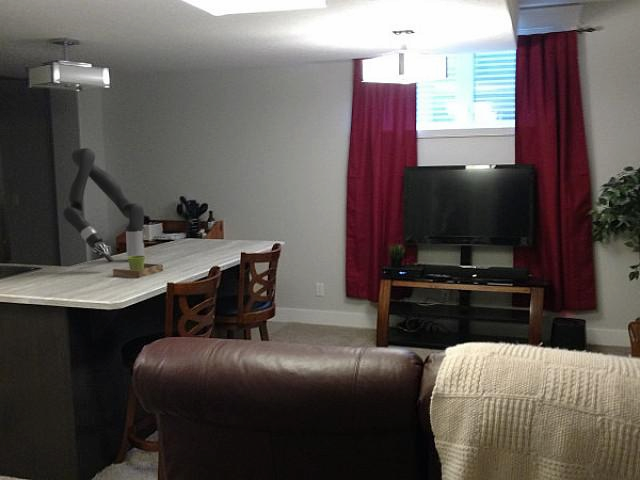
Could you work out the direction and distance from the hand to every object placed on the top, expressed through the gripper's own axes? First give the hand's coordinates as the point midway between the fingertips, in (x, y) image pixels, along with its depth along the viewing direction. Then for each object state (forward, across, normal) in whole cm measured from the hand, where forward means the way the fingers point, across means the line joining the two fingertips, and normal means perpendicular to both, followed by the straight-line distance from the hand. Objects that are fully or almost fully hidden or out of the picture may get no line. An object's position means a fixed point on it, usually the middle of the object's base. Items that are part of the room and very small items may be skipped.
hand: (111, 261), depth 319 cm
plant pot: (+15, 0, -7) cm, 16 cm away
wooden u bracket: (+15, 0, -7) cm, 17 cm away
